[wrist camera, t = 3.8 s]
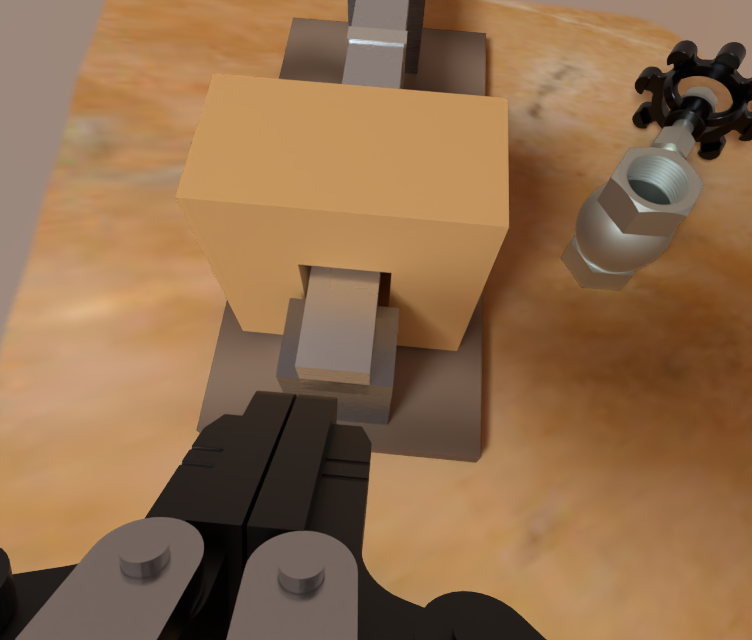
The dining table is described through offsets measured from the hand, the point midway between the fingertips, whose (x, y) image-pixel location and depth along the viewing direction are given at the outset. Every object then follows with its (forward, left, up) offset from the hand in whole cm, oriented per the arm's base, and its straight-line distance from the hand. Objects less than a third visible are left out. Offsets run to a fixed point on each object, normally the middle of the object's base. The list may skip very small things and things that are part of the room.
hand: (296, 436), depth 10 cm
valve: (-22, -2, -14) cm, 26 cm away
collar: (-7, -7, -12) cm, 15 cm away
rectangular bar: (-11, -11, -14) cm, 21 cm away
